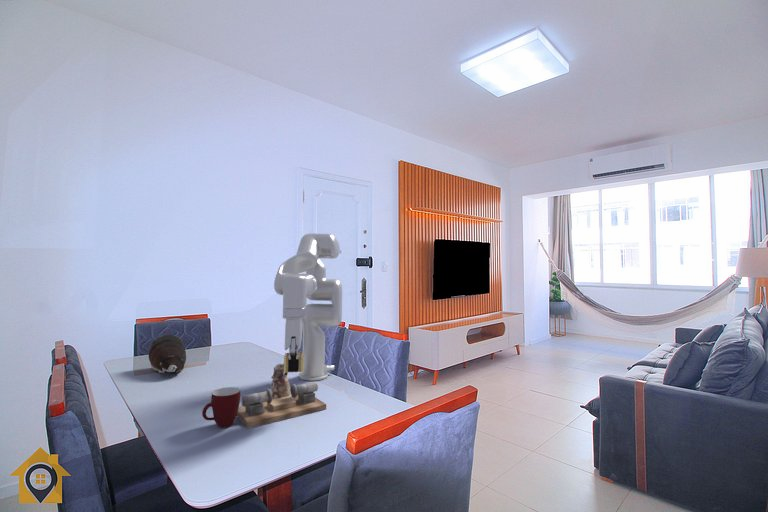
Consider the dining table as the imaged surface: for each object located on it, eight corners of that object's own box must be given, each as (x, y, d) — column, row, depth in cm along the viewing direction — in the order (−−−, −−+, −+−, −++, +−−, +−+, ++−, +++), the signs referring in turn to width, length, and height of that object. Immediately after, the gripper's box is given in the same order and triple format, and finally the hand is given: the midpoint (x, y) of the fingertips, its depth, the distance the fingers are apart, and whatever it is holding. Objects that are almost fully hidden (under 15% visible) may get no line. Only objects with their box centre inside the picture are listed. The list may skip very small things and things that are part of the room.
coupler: (283, 372, 119) (284, 356, 119) (284, 368, 124) (285, 353, 124) (303, 371, 120) (303, 356, 120) (303, 367, 125) (303, 352, 125)
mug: (209, 436, 105) (210, 400, 105) (197, 427, 111) (198, 393, 111) (244, 424, 113) (245, 391, 113) (232, 417, 118) (232, 385, 119)
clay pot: (154, 354, 151) (151, 333, 171) (147, 390, 152) (144, 365, 172) (194, 354, 160) (186, 334, 180) (187, 388, 161) (180, 364, 181)
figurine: (266, 396, 138) (266, 363, 138) (283, 391, 143) (283, 360, 144) (276, 401, 133) (277, 367, 133) (293, 396, 138) (294, 363, 139)
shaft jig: (308, 397, 137) (308, 375, 138) (326, 409, 126) (326, 385, 126) (234, 413, 122) (235, 388, 122) (247, 428, 111) (248, 400, 111)
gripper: (284, 309, 130) (283, 362, 129) (280, 317, 113) (279, 377, 113) (306, 309, 131) (305, 361, 131) (306, 316, 114) (305, 376, 114)
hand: (293, 368), depth 122 cm, fingers closed on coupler, 5 cm apart
